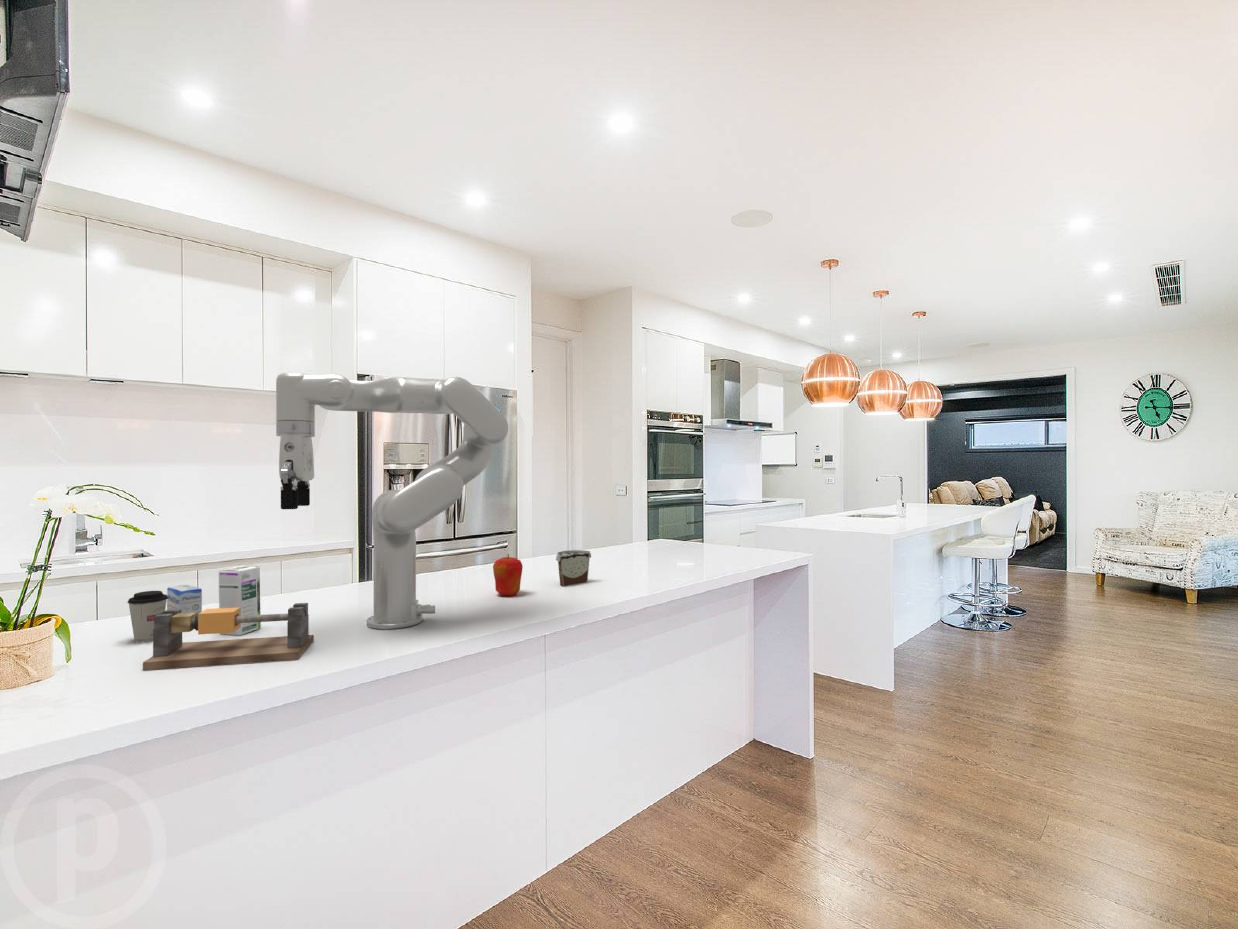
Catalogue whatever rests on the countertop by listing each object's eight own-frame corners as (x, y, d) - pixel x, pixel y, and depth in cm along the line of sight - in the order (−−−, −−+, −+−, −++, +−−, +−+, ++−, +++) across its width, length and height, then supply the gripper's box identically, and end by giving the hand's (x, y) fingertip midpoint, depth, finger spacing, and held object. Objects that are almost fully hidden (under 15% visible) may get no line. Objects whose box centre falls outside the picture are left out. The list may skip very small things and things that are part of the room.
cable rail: (313, 641, 129) (313, 599, 129) (298, 659, 117) (298, 613, 117) (173, 650, 122) (173, 605, 122) (142, 670, 111) (142, 621, 111)
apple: (488, 593, 175) (488, 553, 175) (515, 590, 180) (515, 550, 180) (499, 599, 168) (500, 557, 168) (527, 595, 173) (527, 554, 173)
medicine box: (166, 623, 142) (166, 587, 142) (187, 619, 146) (187, 583, 146) (180, 629, 138) (180, 591, 138) (202, 624, 142) (202, 587, 142)
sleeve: (240, 627, 122) (240, 607, 122) (233, 632, 118) (233, 612, 118) (206, 629, 120) (206, 609, 120) (198, 634, 116) (198, 614, 116)
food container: (579, 579, 197) (579, 548, 197) (591, 582, 192) (591, 551, 192) (548, 584, 189) (548, 552, 189) (559, 587, 184) (559, 554, 184)
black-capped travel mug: (118, 643, 127) (118, 596, 127) (148, 634, 134) (148, 589, 134) (147, 645, 126) (147, 597, 126) (176, 635, 133) (176, 590, 133)
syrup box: (240, 636, 133) (240, 570, 132) (218, 634, 134) (218, 569, 134) (261, 629, 138) (261, 565, 138) (239, 627, 139) (239, 564, 139)
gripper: (303, 428, 125) (303, 510, 126) (323, 431, 142) (323, 504, 142) (263, 427, 124) (263, 511, 124) (288, 431, 140) (288, 504, 141)
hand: (295, 507), depth 133 cm, fingers open, 9 cm apart
